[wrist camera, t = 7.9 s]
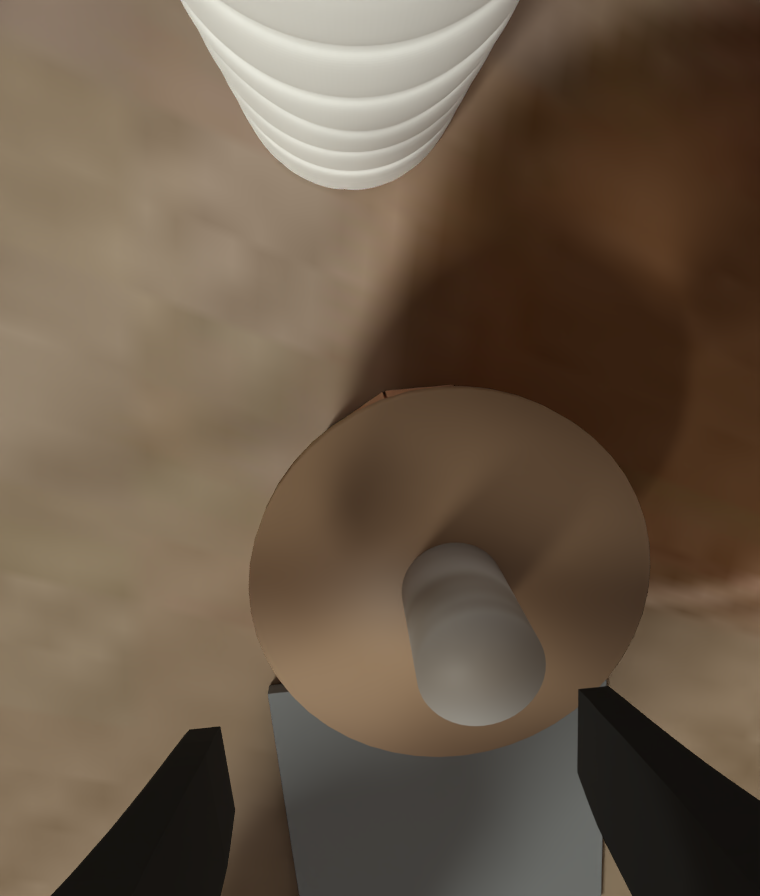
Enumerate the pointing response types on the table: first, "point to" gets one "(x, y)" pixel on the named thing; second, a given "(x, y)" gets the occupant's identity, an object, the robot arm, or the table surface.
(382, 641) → the lid
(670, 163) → the table surface
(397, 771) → the mat
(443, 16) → the water bottle
